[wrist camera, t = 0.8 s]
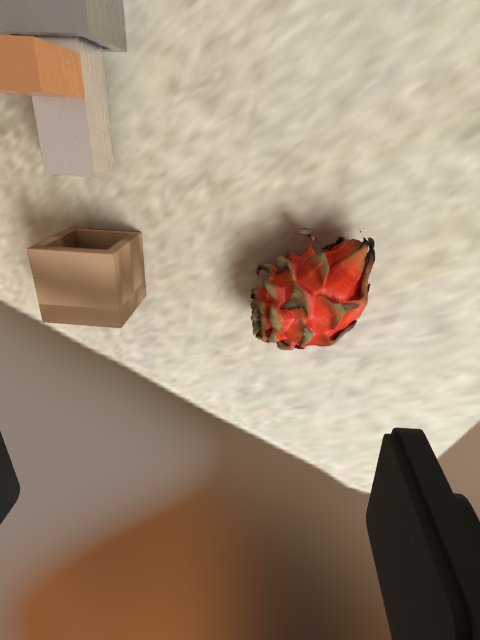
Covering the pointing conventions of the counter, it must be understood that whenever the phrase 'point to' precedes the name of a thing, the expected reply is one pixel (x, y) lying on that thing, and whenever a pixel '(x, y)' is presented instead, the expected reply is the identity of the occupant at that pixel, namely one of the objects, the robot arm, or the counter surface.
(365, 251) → the dragon fruit
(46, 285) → the socket block
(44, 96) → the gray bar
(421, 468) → the robot arm
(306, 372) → the counter surface
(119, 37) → the sleeve
